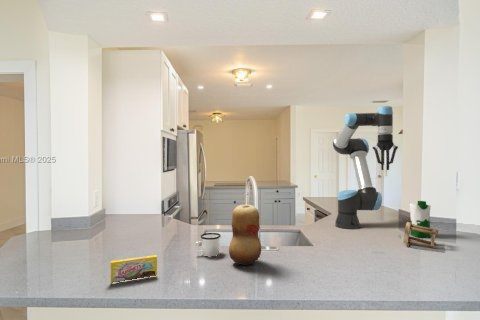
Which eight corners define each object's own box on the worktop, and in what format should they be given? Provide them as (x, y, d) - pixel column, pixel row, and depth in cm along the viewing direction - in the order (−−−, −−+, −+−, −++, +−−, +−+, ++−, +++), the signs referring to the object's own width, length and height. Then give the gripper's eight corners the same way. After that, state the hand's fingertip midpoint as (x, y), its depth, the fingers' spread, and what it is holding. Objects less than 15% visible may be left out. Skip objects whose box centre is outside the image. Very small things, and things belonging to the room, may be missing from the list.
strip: (406, 247, 140) (406, 244, 140) (408, 240, 152) (408, 238, 152) (408, 247, 140) (408, 245, 140) (410, 240, 152) (410, 238, 152)
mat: (409, 247, 140) (409, 247, 140) (411, 240, 151) (411, 240, 151) (444, 252, 132) (444, 252, 132) (443, 244, 143) (443, 244, 143)
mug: (217, 250, 139) (217, 231, 139) (223, 256, 130) (223, 236, 130) (193, 253, 135) (193, 234, 135) (197, 259, 126) (197, 239, 126)
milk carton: (415, 238, 156) (415, 201, 156) (407, 233, 165) (407, 199, 165) (432, 238, 155) (432, 202, 155) (423, 234, 164) (423, 199, 164)
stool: (405, 225, 143) (438, 232, 135) (407, 221, 150) (438, 228, 142) (403, 242, 143) (436, 250, 136) (404, 238, 151) (436, 245, 143)
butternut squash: (238, 272, 111) (237, 209, 111) (224, 261, 123) (223, 204, 123) (267, 266, 118) (267, 206, 117) (251, 256, 129) (251, 201, 129)
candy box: (110, 285, 101) (110, 262, 101) (110, 283, 103) (110, 260, 103) (157, 277, 108) (157, 256, 107) (156, 275, 109) (156, 254, 109)
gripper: (371, 134, 159) (371, 176, 160) (397, 133, 152) (397, 176, 152) (373, 135, 166) (373, 175, 166) (398, 133, 158) (399, 175, 158)
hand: (385, 176), depth 159 cm, fingers closed
